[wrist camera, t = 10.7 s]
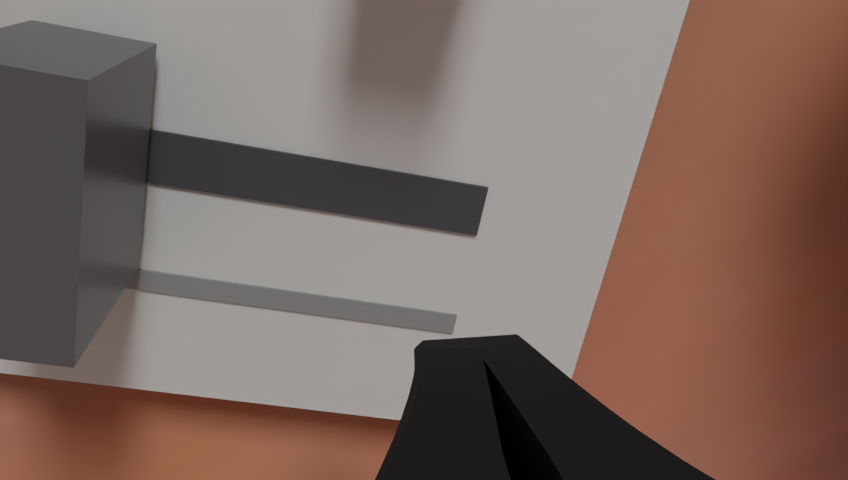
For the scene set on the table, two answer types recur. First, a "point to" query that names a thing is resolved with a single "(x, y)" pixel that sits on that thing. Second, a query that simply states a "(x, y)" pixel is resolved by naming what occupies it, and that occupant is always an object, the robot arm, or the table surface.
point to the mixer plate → (368, 186)
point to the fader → (68, 183)
